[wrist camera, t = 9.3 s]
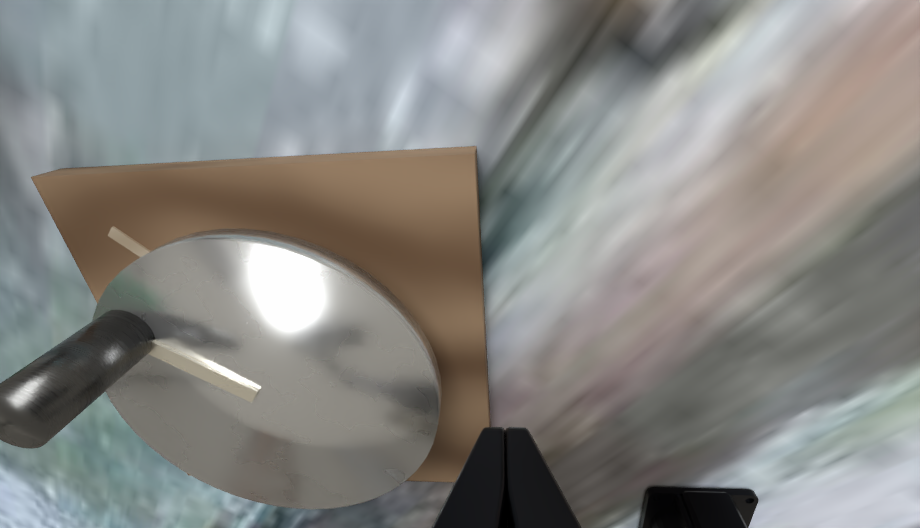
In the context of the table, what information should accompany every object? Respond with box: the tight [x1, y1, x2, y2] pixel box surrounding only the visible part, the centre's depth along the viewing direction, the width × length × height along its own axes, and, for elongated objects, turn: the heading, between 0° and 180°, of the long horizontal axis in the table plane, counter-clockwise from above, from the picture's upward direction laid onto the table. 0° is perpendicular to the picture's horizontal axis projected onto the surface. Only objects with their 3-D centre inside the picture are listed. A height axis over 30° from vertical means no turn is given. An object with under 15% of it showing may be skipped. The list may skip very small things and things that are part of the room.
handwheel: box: [0, 229, 442, 509], centre depth 19 cm, size 16×16×8 cm
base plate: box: [31, 146, 491, 482], centre depth 23 cm, size 20×20×2 cm
